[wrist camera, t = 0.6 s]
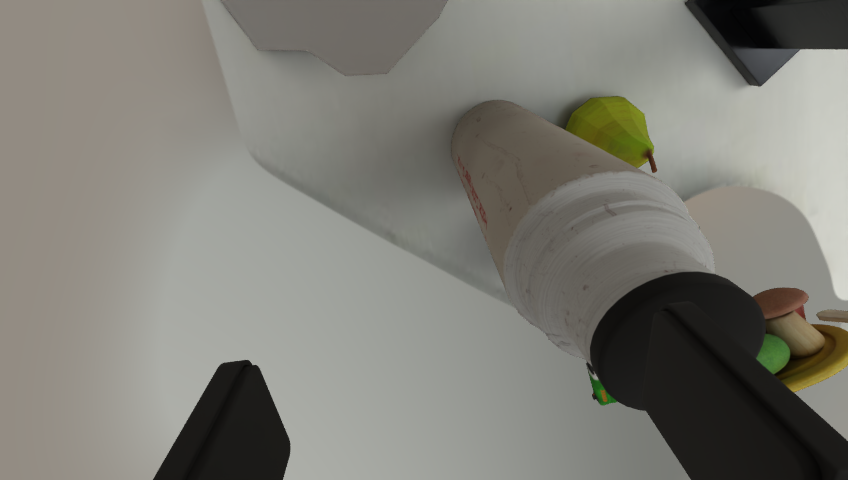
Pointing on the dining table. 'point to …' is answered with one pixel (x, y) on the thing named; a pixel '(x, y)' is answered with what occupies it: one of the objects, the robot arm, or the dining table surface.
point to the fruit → (614, 129)
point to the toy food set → (800, 340)
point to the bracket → (771, 30)
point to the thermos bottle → (589, 243)
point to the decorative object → (338, 29)
